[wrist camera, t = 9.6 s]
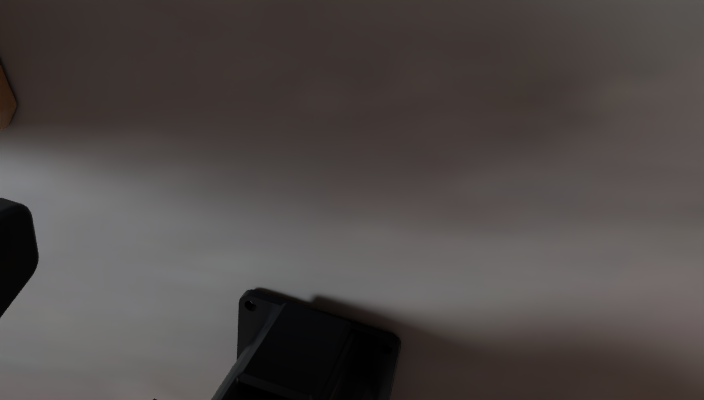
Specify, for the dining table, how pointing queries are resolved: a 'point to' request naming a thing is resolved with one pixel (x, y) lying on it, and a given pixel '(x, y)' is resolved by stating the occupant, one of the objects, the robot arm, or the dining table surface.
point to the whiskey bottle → (5, 102)
